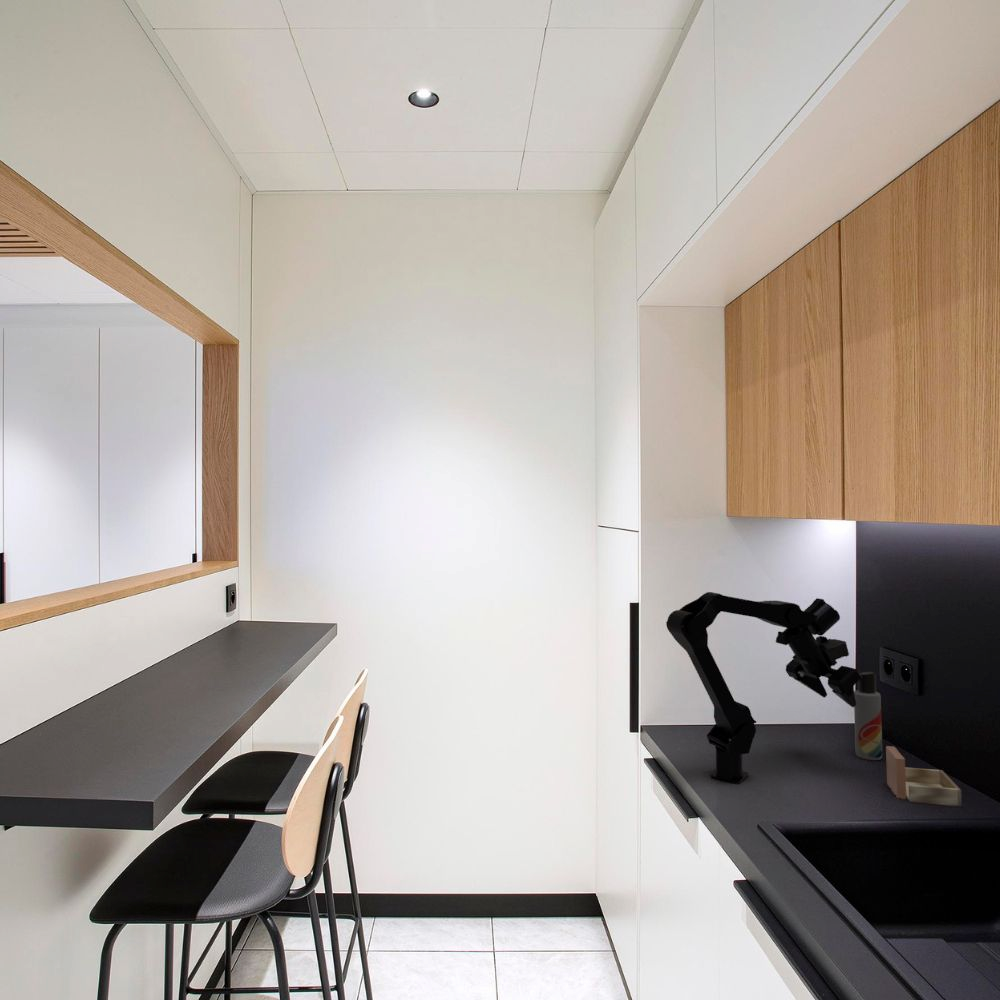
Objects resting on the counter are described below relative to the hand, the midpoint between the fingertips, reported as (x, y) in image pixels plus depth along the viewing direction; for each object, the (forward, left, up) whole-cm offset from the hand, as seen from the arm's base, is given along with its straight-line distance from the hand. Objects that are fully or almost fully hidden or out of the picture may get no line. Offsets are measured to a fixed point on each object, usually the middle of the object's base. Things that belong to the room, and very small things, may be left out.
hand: (839, 701), depth 161 cm
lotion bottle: (+8, -4, -14) cm, 17 cm away
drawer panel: (-11, -13, -14) cm, 22 cm away
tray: (-9, -18, -14) cm, 25 cm away
